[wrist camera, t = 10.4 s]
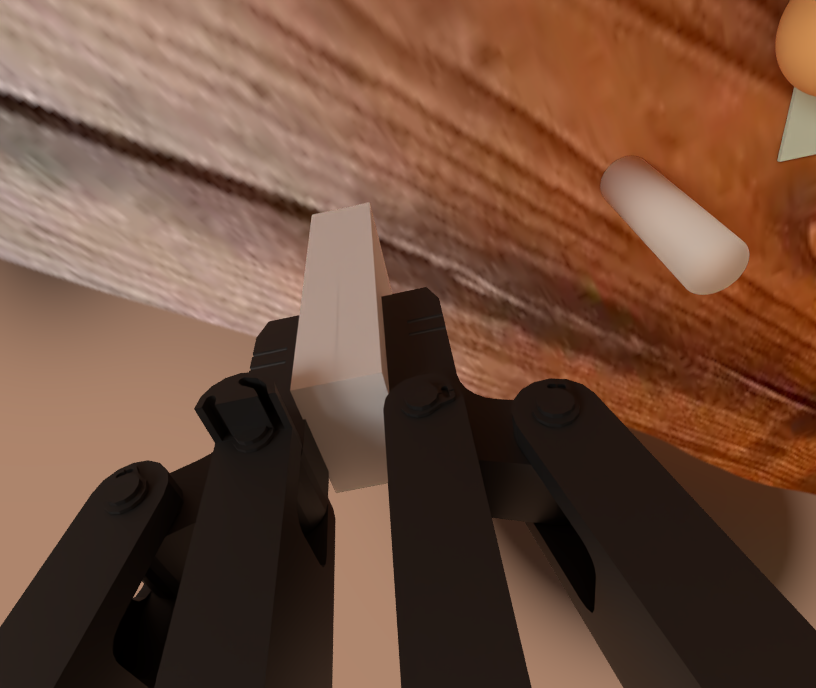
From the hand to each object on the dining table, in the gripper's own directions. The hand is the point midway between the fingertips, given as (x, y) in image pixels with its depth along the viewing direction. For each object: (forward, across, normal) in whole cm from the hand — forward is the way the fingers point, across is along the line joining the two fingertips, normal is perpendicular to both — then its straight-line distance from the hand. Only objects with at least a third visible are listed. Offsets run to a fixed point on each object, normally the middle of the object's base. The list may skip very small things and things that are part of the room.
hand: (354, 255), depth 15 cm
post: (+14, +13, -6) cm, 20 cm away
